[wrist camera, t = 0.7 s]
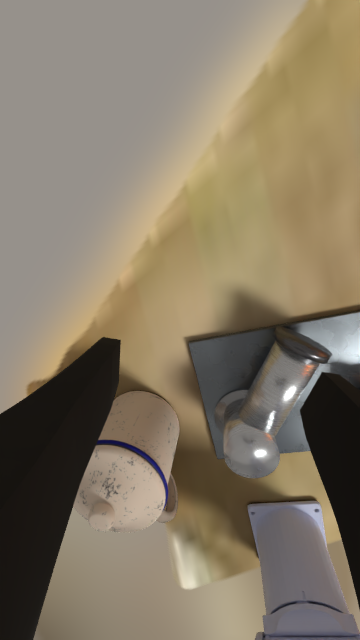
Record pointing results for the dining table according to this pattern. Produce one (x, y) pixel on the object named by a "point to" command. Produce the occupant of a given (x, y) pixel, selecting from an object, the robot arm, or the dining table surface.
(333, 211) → the dining table surface
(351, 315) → the metal pipe fittings plate
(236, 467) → the silver pipe
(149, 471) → the teacup with lid
